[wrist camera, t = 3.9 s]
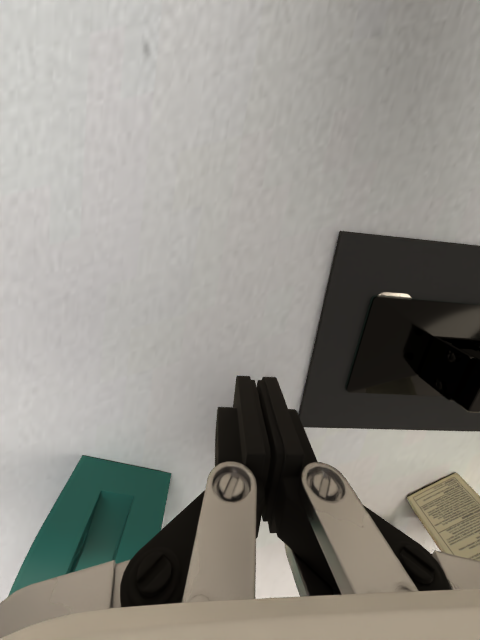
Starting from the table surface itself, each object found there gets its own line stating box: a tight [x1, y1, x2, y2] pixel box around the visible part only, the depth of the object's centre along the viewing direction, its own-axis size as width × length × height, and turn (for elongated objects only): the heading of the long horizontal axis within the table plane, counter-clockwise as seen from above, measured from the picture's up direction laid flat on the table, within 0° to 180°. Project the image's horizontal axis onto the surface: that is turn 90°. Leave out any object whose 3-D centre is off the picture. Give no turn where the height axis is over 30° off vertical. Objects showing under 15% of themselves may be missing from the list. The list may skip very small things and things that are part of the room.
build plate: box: [345, 292, 480, 412], centre depth 16 cm, size 12×7×5 cm, turn 84°
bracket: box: [8, 455, 171, 597], centre depth 19 cm, size 18×7×8 cm, turn 158°
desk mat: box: [299, 231, 480, 431], centre depth 19 cm, size 14×24×1 cm, turn 84°
